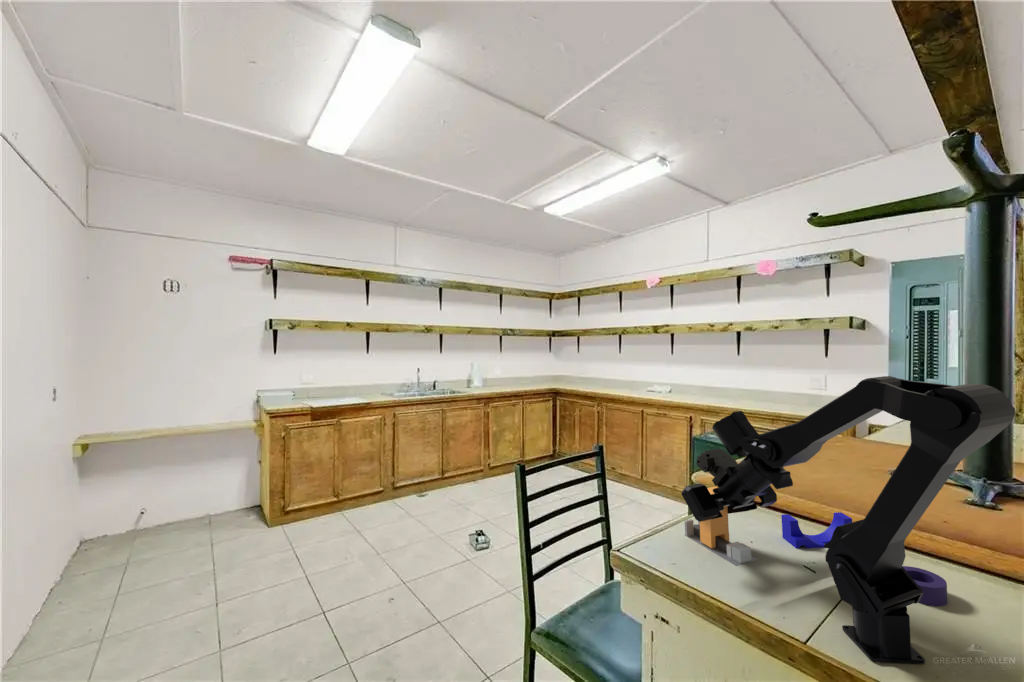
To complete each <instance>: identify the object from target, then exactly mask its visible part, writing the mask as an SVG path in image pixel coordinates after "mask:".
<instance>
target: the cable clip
mask: <svg viewBox="0 0 1024 682" xmlns="http://www.w3.org/2000/svg"><path fill="white" fill-rule="evenodd" d="M852 522H853V518H852V517H850V516H849V515H846V514H845V513H843V512H833V518H832V521H831V523H830V525H829V526H828V527H827V528H826V529H825V530H824V531H823V532H821V533H818V534H811V535H810V534H805V533H803V532H802V529H800V525H799V520H798V519H796V518H795V517H794V516H792V515H791V514H789V513H788V514H781V531H782V532H781V534H782V536H781V537H782V539H783V540H785V541H786V542H787V543H788V544H790V545H791V546H792V547H794V548H795V549H800V548H801V546H804V547H805V548H806V549H815V548H817V549H819V548H820V549H821V548H823V549H824V548H826V547H824V545H825V544H827V543H828V542H829V541H830V540H831V538H832V535H833V532H834V530H835V529H836V527H837V526H841V525H844V524H848V523H852Z"/></svg>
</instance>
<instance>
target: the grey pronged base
mask: <svg viewBox="0 0 1024 682" xmlns="http://www.w3.org/2000/svg"><path fill="white" fill-rule="evenodd" d="M697 522H698V524H694V519H692V518H691V519H690V518H689V519H686V520H684V536H685V537H687V538H688V539H690V540H692V541H693V542H695V543H697V544H698V545H701V546H702V547H703V548H705V549H706V550H708V551H710V552H712V553H714V554H715V555H717V556H718V557H720V558H722V559H724V560H726V561H727V562H728V563H730V564H732V565H733V566H736V567H739V566H741V565H745V564H748V563H751V562H756V561H758V560H759V558H757V557H755V556H753V555H752V549H751V547H750V546H748V545H746V544H745V543H742V542H739V541H734V542H729V541H730V540H729V541H727V540H725V539H723V538H721V537H719V536H715V540H716V547H714V548H710V547H709V546H707V545H705V544H703V543H702V542H700V522H699V521H697Z"/></svg>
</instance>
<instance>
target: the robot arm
mask: <svg viewBox="0 0 1024 682" xmlns="http://www.w3.org/2000/svg"><path fill="white" fill-rule="evenodd" d="M881 412H886V413H887V414H889V415H892V416H893V417H896V418H898V419H900V420H904V421H907V422H910V423H909V432H910V433H909V434H910V445H909V447H908V448H907V450H906V452H905V453H904V455H903V456H902V458H901V460H900V461H899V463H898V465H897V466H896V468H895V469H894V471H893V472H892V474H891V476H890V477H889V479H888V480H887V482H886V484H885V485H884V487H883V489H882V490H881V492H880V493H879V495H878V496H877V498H876V500H875V501H874V503H873V504H872V506H871V507H870V509H869V511H868V512H867V514H866V516H865V517H864V518H863V519H859V520H856V521H852V523H848V524H844V525H841V526H837V527H836V529H835V530H834V532H833V535H832V538H831V540H830V541H829V542H828V543H827V544H825V545H824V547H825V548H826V549H827V550H826V552H825V556H824V557H825V558H824V559H825V562H826V563H827V565H828V569H829V570H830V573H831V575H832V579H833V581H834V585H835V587H836V590H837V592H838V595H839V598H840V599H841V600H842V601H843V602H845V603H847V604H848V605H849V606H850V607H851V609H852V610H851V611H852V623H853V625H846V624H845V625H842V626H841V628H842V631H843V632H844V633H845V634H846V636H848V637H849V638H850V640H852V641H853V643H854V644H855V645H856V646H857V647H858V648H859V649H860V650H861V651H862V653H863V654H865V656H866V657H867V658H868V659H869V660H871V661H872V662H877V663H878V662H879V663H880V662H881V663H882V662H884V663H901V664H902V663H903V664H904V663H905V664H925V663H926V659H925V657H924V656H923V655H922V654H921V653H919V651H918V650H916V649H915V648H914V647H913V646H912V643H911V641H912V639H911V638H912V637H911V621H910V620H911V618H910V614H908V606H911V605H914V604H916V605H917V604H920V603H919V601H920V599H921V597H922V595H923V590H922V589H921V588H920V587H919V585H918V584H917V583H916V582H915V581H914V579H913V578H912V577H911V576H910V575H909V574H908V572H907V571H906V570H905V569H904V568H903V566H904V562H905V559H906V549H905V541H906V540H907V537H909V535H910V533H911V532H912V531H913V529H914V528H915V527H916V525H917V523H918V522H919V521H920V520H921V518H922V517H923V515H924V514H925V512H926V511H927V509H928V508H929V507H930V505H931V504H932V502H933V501H934V499H935V498H936V497H937V495H938V494H939V493H940V491H941V490H942V488H943V487H944V486H945V484H946V483H947V481H948V480H949V478H950V477H951V475H952V474H953V473H954V471H955V470H956V468H957V467H958V466H959V465H960V463H961V462H962V461H963V460H964V459H965V458H967V457H969V456H970V455H971V454H973V453H974V452H976V451H977V450H979V449H980V448H982V447H984V446H985V445H987V444H988V443H989V442H991V441H992V440H994V438H996V436H997V435H999V434H1000V433H1001V432H1002V431H1004V430H1005V429H1006V428H1008V427H1009V425H1010V424H1011V423H1012V422H1013V420H1014V418H1015V416H1016V408H1015V407H1014V406H1013V404H1012V402H1011V400H1010V398H1009V397H1008V396H1007V395H1006V394H1005V393H1004V392H1002V391H1001V390H999V389H997V388H995V387H994V386H990V385H987V384H984V383H967V384H965V383H964V384H959V385H950V384H944V383H943V384H942V383H936V382H925V381H917V380H908V379H903V378H898V377H895V376H892V375H887V376H886V375H885V376H884V375H883V376H875V377H868V378H864V379H861V381H859V382H858V383H857V385H856V386H854V387H853V388H851V389H849V390H848V391H846V392H845V393H843V394H841V395H840V396H838V397H837V398H835V399H833V400H831V401H830V402H829V403H827V404H825V405H824V406H822V407H820V408H819V409H817V410H815V411H814V412H813V413H811V414H809V415H807V416H806V417H804V418H803V419H801V420H800V421H798V422H795V423H792V424H789V425H785V426H782V427H779V428H775V429H772V430H769V431H766V432H764V433H758V431H757V430H756V429H755V427H754V426H753V425H752V424H751V422H750V421H749V420H748V418H747V416H746V415H745V413H744V412H743V411H742V410H738V411H733V412H731V414H729V415H727V416H725V417H723V418H721V419H720V420H718V421H714V423H713V425H712V428H711V429H712V430H713V432H714V433H715V435H716V437H717V438H718V439H719V441H720V442H721V444H722V445H723V446H724V448H725V450H723V449H721V448H714V449H709V450H705V451H704V452H701V453H700V455H697V459H696V466H697V467H698V468H699V469H700V470H701V471H702V472H703V473H709V474H710V475H711V476H712V477H713V478H712V479H711V481H712V483H713V484H714V487H718V488H714V489H713V492H714V493H715V494H710V492H709V491H708V489H707V488H708V486H706V485H705V484H702V483H700V482H699V483H695V484H691V485H687V486H685V487H684V488H683V489H682V490H681V496H682V497H683V500H684V501H685V503H686V505H687V507H688V509H689V511H690V512H691V514H692V516H693V517H694V519H695V520H696V521H697V522H698V521H699V522H701V521H705V520H710V519H716V518H720V517H723V516H722V514H721V512H720V511H722V510H723V509H724V506H727V507H728V515H729V514H736V513H743V512H749V511H754V510H757V509H758V505H757V503H756V501H755V500H756V499H755V498H756V497H758V499H760V502H759V503H758V504H759V506H760V507H761V508H764V507H768V506H770V507H771V506H772V505H773V504H775V503H776V502H778V498H777V497H778V496H777V493H776V492H775V490H774V489H776V490H781V489H785V488H789V487H793V486H794V482H793V479H792V477H791V471H788V470H786V469H785V467H790V466H795V465H800V464H804V463H807V462H808V461H810V460H811V459H812V458H814V456H815V455H817V454H818V453H819V452H820V451H821V449H822V447H823V445H824V444H826V443H827V442H828V441H829V440H831V439H833V438H834V437H837V436H839V435H840V434H842V433H844V432H846V431H848V430H850V429H852V428H854V427H855V426H857V425H858V424H861V423H862V422H865V421H866V420H868V419H870V418H872V417H875V416H876V415H878V414H880V413H881ZM726 451H727V452H726ZM734 455H736V456H737V457H738V458H743V459H742V460H741V461H740V462H739V463H738V462H737V460H736V459H734V457H732V456H734ZM771 485H772V486H773V487H774V489H773V487H772V486H771Z"/></svg>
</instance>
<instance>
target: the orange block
mask: <svg viewBox="0 0 1024 682" xmlns="http://www.w3.org/2000/svg"><path fill="white" fill-rule="evenodd" d="M714 488H718V486H712V487H707V489H708V491H709V492H710V494H715V493H714V492H713V489H714ZM720 512H721V514H722V516H723V517H720V518H716V519H710V520H705V521H701V522H700V542H702V543H703V544H705V545H707V546H709V547H710V548H714V547H716V540H715V536H719V537H721V538H723V539H725V540H727V541H729V542H730V531H729V529H730V528H729V526H730V525H729V514H728V507H727V506H724V509H723V510H722V511H720Z"/></svg>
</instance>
